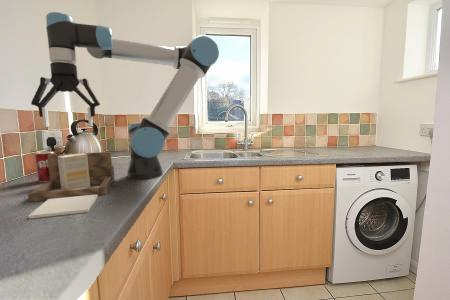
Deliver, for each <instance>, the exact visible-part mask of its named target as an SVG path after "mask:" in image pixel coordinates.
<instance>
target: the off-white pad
mask: <svg viewBox="0 0 450 300" xmlns="http://www.w3.org/2000/svg"><path fill="white" fill-rule="evenodd" d="M98 198H99V195H98V194H97V195H86V196H76V197H65V198H54V199H48V200H45V201H44V202H43V203H42V204H41V205H39V206H38V207H37V208H35V210H33V211H32V212H31V213H30V214H29V215H28V219H37V218H46V217H54V216H55V217H56V216H63V215H72V214H74V215H75V214H83V213H89V212H90V210H91V209H92V207H93V205H94V204H95V202H96V200H97V199H98Z"/></svg>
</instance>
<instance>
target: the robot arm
mask: <svg viewBox="0 0 450 300" xmlns="http://www.w3.org/2000/svg"><path fill="white" fill-rule="evenodd" d="M45 21H46V35H47V42H48V44H47V45H48V54H49V61H50V62H51V63H50V65H49V66H50V73H51V77H50V78H46V77H45V76H41V77H40V79H39V85H38V87H37V89H36V91H35V94H34V96H33V98H32V100H31V101H30V103H31V105H32V106H35V107H37V108H38V114H39V117H40V118H42V122H43V127H45V128H48V127H50V118H49V109H48V107H46V106H47V104H49V102H50V101H51V100H52V99H53V98H54V96H55V95H57V94H58V93H59V92H62V93H63V92H64V93H65V92H67V93H73V92H74V93H76V94H77V95H78V96H79V97H80V99H82V101H84V102H85V103H86V104H87V105H88V106H89V107H87V118H88V119H87V120H88V127H93V126H94V123H93V122H94V121H93V117H94V118H95V116H96V107H99V106H101V103H100V101H99V100H98V98H97V96H96V95H95V93H94V91H93V90H92V89H91V86H90V85H89V80H88V79H87V78H85V77H84V78H81V79H79V78H78V67H77V65H76V64H77V58H76V57H77V56H76V55H77V54H76V47H77V48H85V49H86V50H87V52H88V53H89V55H90V56H91V57H93V58H95V59H99V60H101V59H105V58H106V59H115V60H122V61H123V60H125V61H132V62H137V63H138V62H139V63H146V64H152V65H153V64H154V65H161V66H163V65H164V66H168V67H169V66H170V67H173V68H174V69H175V70H177V71H176V73H175V74H174V76H173V77H172V79H171V81H170V82H169V84H168V86H167V87H166V89H165V90H164V92H163V94H162V95H161V97H160V99H159V100H158V102H157V103H156V104H155V106H154V108H153V109H152V111H151V113H150V115H148V116H143V118H142V119H141V120H140V122H137V123H132V124H129V126H128V131H127V132H128V138H129V140H128V141H129V150H130V151H129V152H130V153H129V154H130V161H129V165H128V168H127V173H126V174H127V177H128V178H129V179H135V180H136V179H137V180H138V179H139V180H143V179H145V180H146V179H152V178H157V177H160V176H162V175H163V174H164V173H163V166H162V165H161V162H160V159H159V155H160V153H161V152H162V151H163V149H164V147H165V142H166V140H167V138H168V137H169V135H170V134H171V133H170V131H171V130H170V127H171V124H172V122H173V121H174V120H175V118H176V116H177V114H178V113H179V111H180V110H181V108H182V106H183V105H184V103H185V102H186V100H187V99H188V96H189V95H190V93H191V92H192V90H193V89H194V87H195V85H196V83H197V82H198V81H199V79H203V78H204V77H205V76H206V75H207V73H208V71H209V69H210V67H212V66H213V65H215V63H216V62H217V61H218V59H219V56H220V51H219V47H218V44H217V43H216V41H215V40H214V39H213V38H212V37H210V36H208V35H204V34H202V35H198V36H196V37H194V38H193V39H192V40H191V42H190V43H189V44H187V45H186V46H179V45H175V46H174V47H168V46H162V45H156V44H150V43H149V44H148V43H142V42H137V41H136V42H135V41H129V40H123V39H116V38H113V35H112V34H113V33H112V29H111V28H110V27H108V26H102V25H93V24H86V23H77V22H74V21H73V18H72V16H70V15H68V14H66V13H62V12H58V11H57V12H56V11H54V12H53V11H52V12H51V11H50V12H48V13H47V14H46V16H45ZM50 83H51V84H52V85H53V86H52V87H51V88H50V90H49V91H48V92H47V93H46V94H45V91H46V89H47V87H48V85H49V84H50ZM80 84H81V86H83V87H84V88H85V90H86V92H87V93H88V95H89V97H90V98H91V100H92V101H93V102H92V101H91V100H90V99H89V98H88V97H87V96H86V95H85V94H84V93H83V92H82V91H81V90H80V89H79V88H78V86H79V85H80ZM44 94H45V96H44Z"/></svg>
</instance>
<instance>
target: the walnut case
mask: <svg viewBox="0 0 450 300" xmlns="http://www.w3.org/2000/svg"><path fill="white" fill-rule="evenodd" d="M79 153H80V152H79ZM79 153H77V154H79ZM83 153H84V154H87V159H88V169H89V178H90V185H97V186H90V187H85V188H73V189H62V190H61V189H54V188H61V182H60V173H59V165H58V156H63V155H71V154H72V153H61V154H59V153H58V154H56V155H48V163H49V172H50V180H49V181H47V182H45V183H43V184H42V185H39V186H37V188H35V189H34V190H32V191H30V192H29V193H27V196H28V202H40V201H47V200H48V199H54V198H65V197H76V196H86V195H97V194H98V196H102V195H106V193H107V192H108V190H109V188H110V186H111V185H112V182H113V181H115V180H116V179H115V177H116V175H115V166H114V165H113V163H112V151H102V152H99V151H97V152H83Z"/></svg>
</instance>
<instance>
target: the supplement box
mask: <svg viewBox="0 0 450 300" xmlns="http://www.w3.org/2000/svg"><path fill="white" fill-rule="evenodd" d="M84 153H85V152H79V154H78V153H70V154H71V155H63V156H58V165H59V173H60V182H61V187H60V188H61V189H60V190H62V189H73V188H85V187H91V184H90V178H89V169H88V159H87V154H84Z"/></svg>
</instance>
